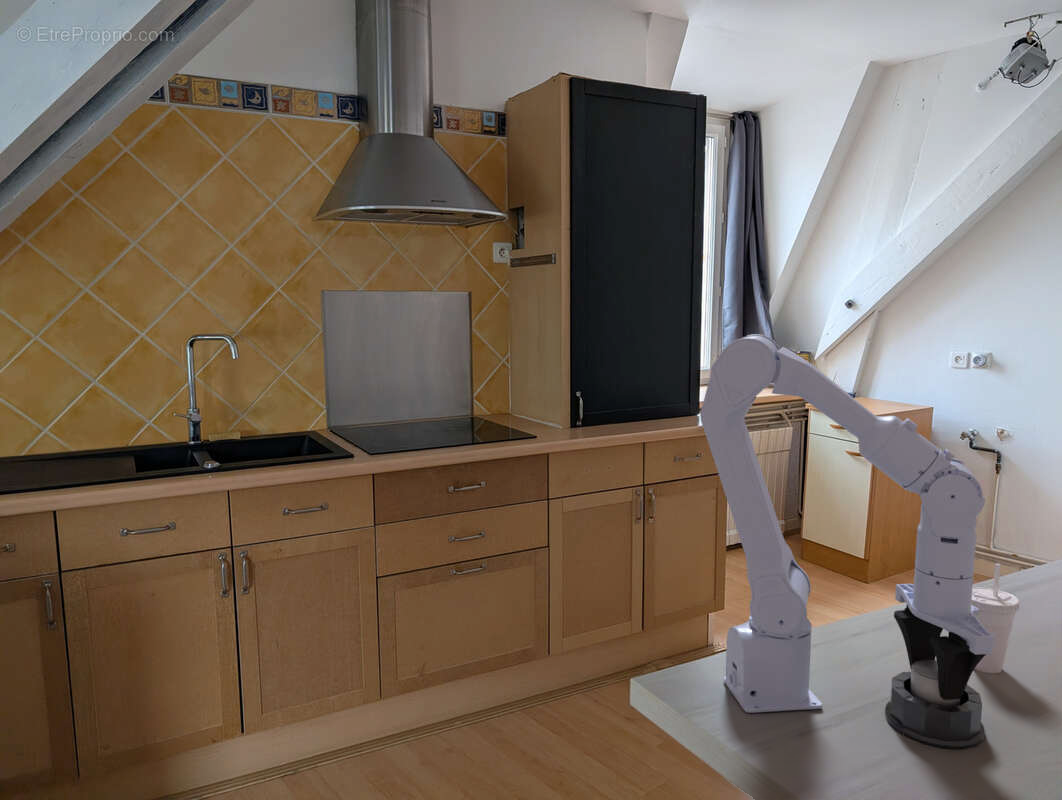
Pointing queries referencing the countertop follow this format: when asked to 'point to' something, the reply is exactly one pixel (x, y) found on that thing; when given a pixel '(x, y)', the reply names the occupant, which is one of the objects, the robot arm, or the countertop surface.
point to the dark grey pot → (935, 717)
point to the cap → (928, 683)
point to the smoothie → (995, 621)
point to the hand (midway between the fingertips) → (935, 685)
